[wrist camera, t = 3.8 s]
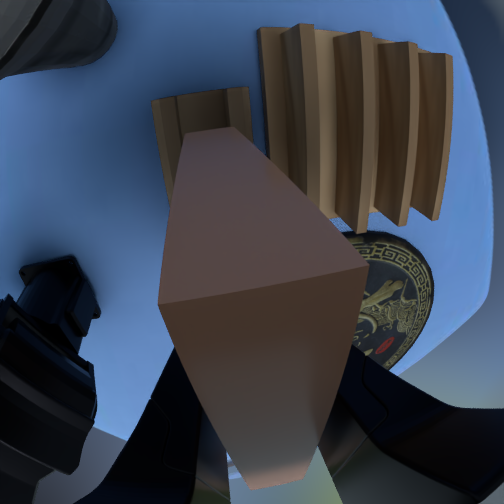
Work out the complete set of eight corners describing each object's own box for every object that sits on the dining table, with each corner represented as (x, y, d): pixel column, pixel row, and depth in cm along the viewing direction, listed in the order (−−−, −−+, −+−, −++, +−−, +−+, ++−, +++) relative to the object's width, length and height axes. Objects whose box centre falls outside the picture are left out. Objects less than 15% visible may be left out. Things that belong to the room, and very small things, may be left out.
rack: (270, 221, 22) (288, 252, 18) (256, 30, 14) (275, 14, 10) (414, 201, 23) (446, 223, 20) (422, 52, 16) (461, 53, 12)
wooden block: (218, 315, 15) (250, 490, 7) (184, 133, 10) (157, 305, 2) (252, 309, 15) (303, 478, 7) (233, 126, 10) (369, 264, 2)
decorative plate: (460, 301, 32) (320, 422, 42) (453, 293, 34) (317, 413, 43) (337, 166, 19) (149, 392, 29) (326, 159, 21) (150, 379, 30)
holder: (183, 258, 22) (183, 284, 19) (152, 100, 15) (144, 102, 13) (259, 245, 23) (269, 269, 20) (246, 86, 16) (256, 85, 14)
